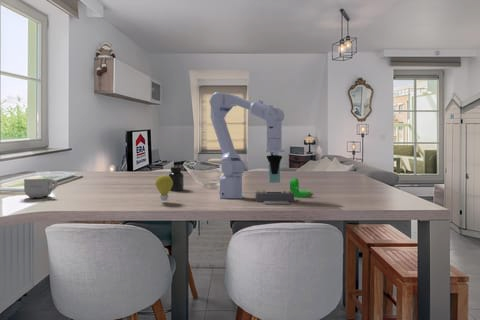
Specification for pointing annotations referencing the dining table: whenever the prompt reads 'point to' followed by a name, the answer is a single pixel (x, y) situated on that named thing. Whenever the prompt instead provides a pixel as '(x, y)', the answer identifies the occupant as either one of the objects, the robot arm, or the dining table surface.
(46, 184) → the teacup
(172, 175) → the supplement bottle
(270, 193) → the box
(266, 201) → the pad
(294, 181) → the mechanical part
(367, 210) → the dining table surface
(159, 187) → the light bulb
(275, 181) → the plug
